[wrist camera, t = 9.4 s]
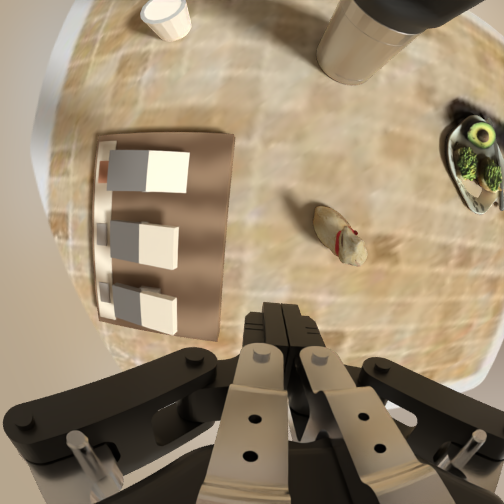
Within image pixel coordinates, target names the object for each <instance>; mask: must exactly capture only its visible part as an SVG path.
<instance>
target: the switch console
mask: <svg viewBox="0 0 504 504" xmlns="http://www.w3.org/2000/svg"><path fill="white" fill-rule="evenodd" d="M234 145H235V137H234V134H223V133H199V132H149V133H126V134H111V135H99V136H98V141H97V149H96V158H95V169H94V183H93V204H92V245H93V266H94V280H95V291H96V301H97V309H98V316H99V321H102V322H106V323H110V324H115V325H120V326H124V327H129V328H134V329H139V330H144V331H150V332H155V333H161V334H166V333H163V332H160V331H156V330H153V329H150V328H147V327H144V326H141V325H137V324H134V323H131V322H128V321H126V320H123V319H120V318H117V317H115V313H114V303H113V291H112V285H113V284H115V283H121V284H124V285H128V286H132V287H136V288H139V289H142V288H148V291H151V292H155V293H159V294H163V295H168V296H172V297H176V298H177V332H176V333H175V334H174V335H173V336H179V337H186V338H193V339H200V340H207V341H215V342H217V340H218V336H219V332H220V315H221V299H222V283H223V269H224V256H225V243H226V230H227V218H228V207H229V196H230V185H231V175H232V165H233V155H234ZM110 150H151V151H171V152H187V153H190V156H189V165H188V176H187V187H186V193H175V192H142V191H107V176H108V164H109V154H110ZM111 220H124V221H133V222H148V223H150V224H158V225H167V226H175V227H179V234H178V261H177V268H176V269H174V270H170V269H165V268H160V267H155V266H150V265H145V264H140V263H135V262H130V261H125V260H120V259H116V258H111V257H110V221H111ZM167 335H170V334H167Z"/></svg>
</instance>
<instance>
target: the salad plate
mask: <svg viewBox="0 0 504 504" xmlns="http://www.w3.org/2000/svg"><path fill="white" fill-rule="evenodd" d="M457 143H458V145H457ZM445 153H446V160H447V164H448V167H449V171H450V174H451V176H452V178H453V179H454V180H455V182H456V184H457V186H458V188H459V190H460V193H461V195H462V196H463V198H464V200H465V201H466V203H467V205H468V207H469V209H470V210H471V211H473V212H474V213H475V214H479V215H483V214H484V213H485V212H487V210H488V209H489V208H490V207H491V205H492V204H493V203H494V202H495V201H496V202H497V203H498V206H499V209H500V210H501V211H503V210H504V194H503V189H504V159H503V157H502V154H501V152H500V150H499V147H498V145H497V142H496V134H495V131H494V127H493V124H492V121H491V119H490V118H489V117H487V119H486V120H484V119H482V118H481V117H479V116H476V115H471V116H469V117H467V118H466V119H464V120H462V121H461V122H460V123H459V124H458V125H457V126H456V127H455V128H453V129H452V130H451V131H450V133H449V134H448V136H447V138H446V147H445ZM473 179H476V180H477V181H478V182H479V186H480V187H482V192H481V194H480V196H479V197H478V198H477V197H474V196H472V195H471V194H470V193H469V192H468V191H467V190H466V189H465V187H464V185H463V184H462V182H461V180H470V181H473Z"/></svg>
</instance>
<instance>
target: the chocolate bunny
mask: <svg viewBox="0 0 504 504" xmlns="http://www.w3.org/2000/svg"><path fill="white" fill-rule="evenodd" d="M313 226H314V229H315V232H316V234H317V236H318V238H319V239H320V241H321V242H322V243H323V244H324V245H325V246H326V247H328V248H329V249H330V250H331V251H332V252H333V254H334V255H336V256H338V257H339V259H340V261H341V262H342V263H345V264H349V265H353V266H361V265H362V264H363V263H364V262H365V260H366V258H367V249H366V247H365V244H364V241H363V240H362V239H361V238H359V237H358V236H356V235H357V234H358V232H357V231H355V230H353V229H352V228H351V226H350V225H349V223H348V222H347V221H346V220H345V219H344V217H343V216H342V215H340V214H339V213H338V212H337V211H335V210H334V209H331V208H328V207H324V206H318V207H315V214H314V219H313Z"/></svg>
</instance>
